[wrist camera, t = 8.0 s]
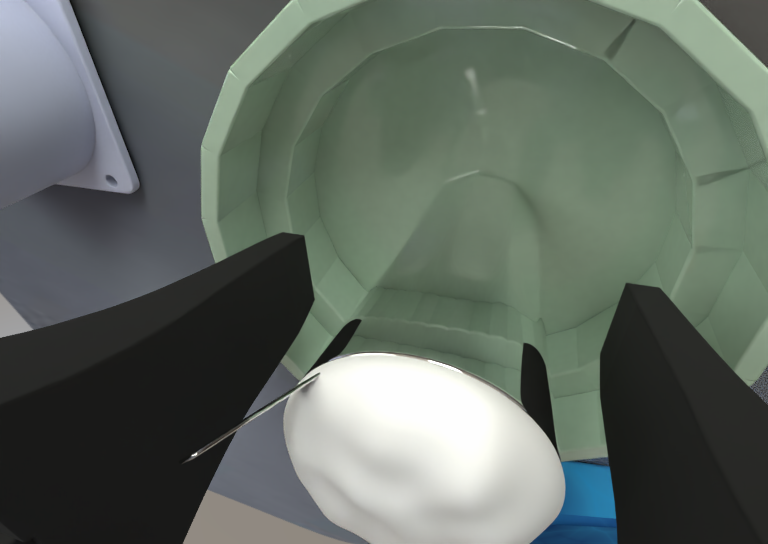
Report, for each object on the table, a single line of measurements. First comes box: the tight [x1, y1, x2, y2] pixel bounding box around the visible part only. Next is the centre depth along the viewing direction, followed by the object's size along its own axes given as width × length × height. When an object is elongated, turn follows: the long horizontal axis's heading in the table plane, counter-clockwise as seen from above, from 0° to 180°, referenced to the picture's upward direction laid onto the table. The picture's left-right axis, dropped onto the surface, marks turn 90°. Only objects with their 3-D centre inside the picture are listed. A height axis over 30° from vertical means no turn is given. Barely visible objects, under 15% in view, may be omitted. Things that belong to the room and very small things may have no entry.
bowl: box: [201, 0, 768, 462], centre depth 12 cm, size 13×13×4 cm
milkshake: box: [179, 174, 565, 544], centre depth 9 cm, size 4×5×10 cm
